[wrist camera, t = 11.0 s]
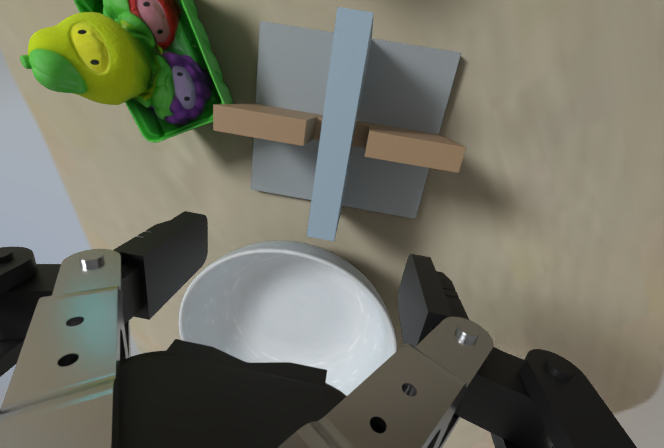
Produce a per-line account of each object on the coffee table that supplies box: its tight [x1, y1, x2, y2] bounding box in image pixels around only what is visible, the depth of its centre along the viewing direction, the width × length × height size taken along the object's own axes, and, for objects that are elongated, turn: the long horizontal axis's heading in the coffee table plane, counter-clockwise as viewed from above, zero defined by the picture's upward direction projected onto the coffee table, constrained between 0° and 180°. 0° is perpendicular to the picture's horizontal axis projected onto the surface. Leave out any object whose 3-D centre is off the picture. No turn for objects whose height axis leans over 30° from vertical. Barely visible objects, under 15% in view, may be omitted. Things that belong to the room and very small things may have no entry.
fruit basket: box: [20, 0, 233, 143], centre depth 22 cm, size 11×9×11 cm
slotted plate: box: [307, 7, 374, 241], centre depth 23 cm, size 14×2×8 cm, turn 171°
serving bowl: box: [179, 241, 397, 396], centre depth 32 cm, size 21×21×7 cm
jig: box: [213, 21, 466, 219], centre depth 24 cm, size 14×16×9 cm
